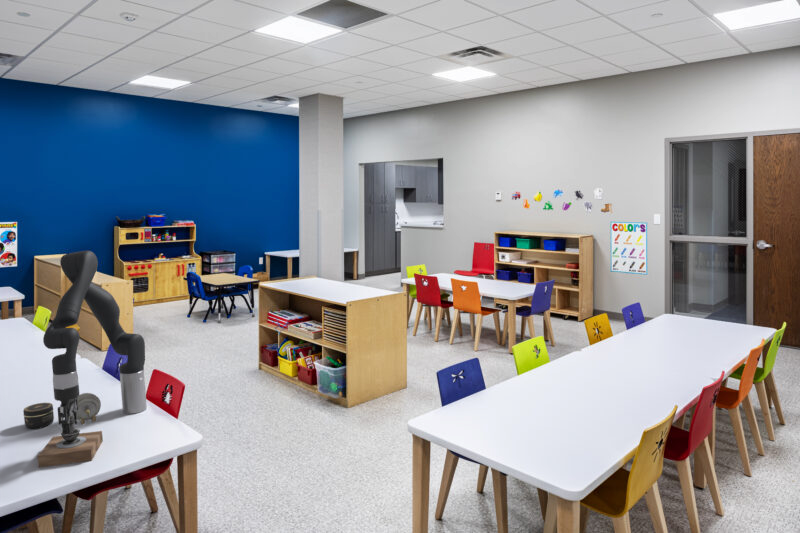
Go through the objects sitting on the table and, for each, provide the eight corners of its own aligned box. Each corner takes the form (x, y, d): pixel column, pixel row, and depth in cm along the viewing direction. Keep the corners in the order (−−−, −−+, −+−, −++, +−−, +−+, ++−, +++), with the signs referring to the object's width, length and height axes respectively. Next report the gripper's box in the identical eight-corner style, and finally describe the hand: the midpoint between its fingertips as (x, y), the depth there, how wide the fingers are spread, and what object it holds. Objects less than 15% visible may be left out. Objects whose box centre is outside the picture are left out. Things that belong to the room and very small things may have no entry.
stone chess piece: (63, 439, 194) (60, 407, 193) (82, 437, 196) (79, 405, 195) (60, 446, 189) (56, 413, 187) (79, 443, 191) (76, 410, 189)
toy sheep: (97, 411, 232) (95, 386, 231) (106, 423, 219) (104, 396, 218) (69, 417, 226) (66, 391, 224) (76, 430, 213) (73, 403, 211)
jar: (18, 428, 215) (16, 410, 215) (41, 418, 225) (40, 401, 224) (37, 431, 213) (36, 412, 212) (60, 421, 222) (58, 403, 221)
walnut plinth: (53, 447, 198) (52, 435, 198) (102, 441, 203) (101, 430, 202) (38, 467, 183) (37, 455, 183) (91, 460, 188) (90, 448, 187)
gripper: (60, 379, 196) (64, 422, 198) (46, 392, 182) (51, 438, 184) (83, 377, 198) (87, 420, 200) (72, 389, 184) (76, 435, 186)
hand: (70, 428), depth 192 cm, fingers open, 8 cm apart
